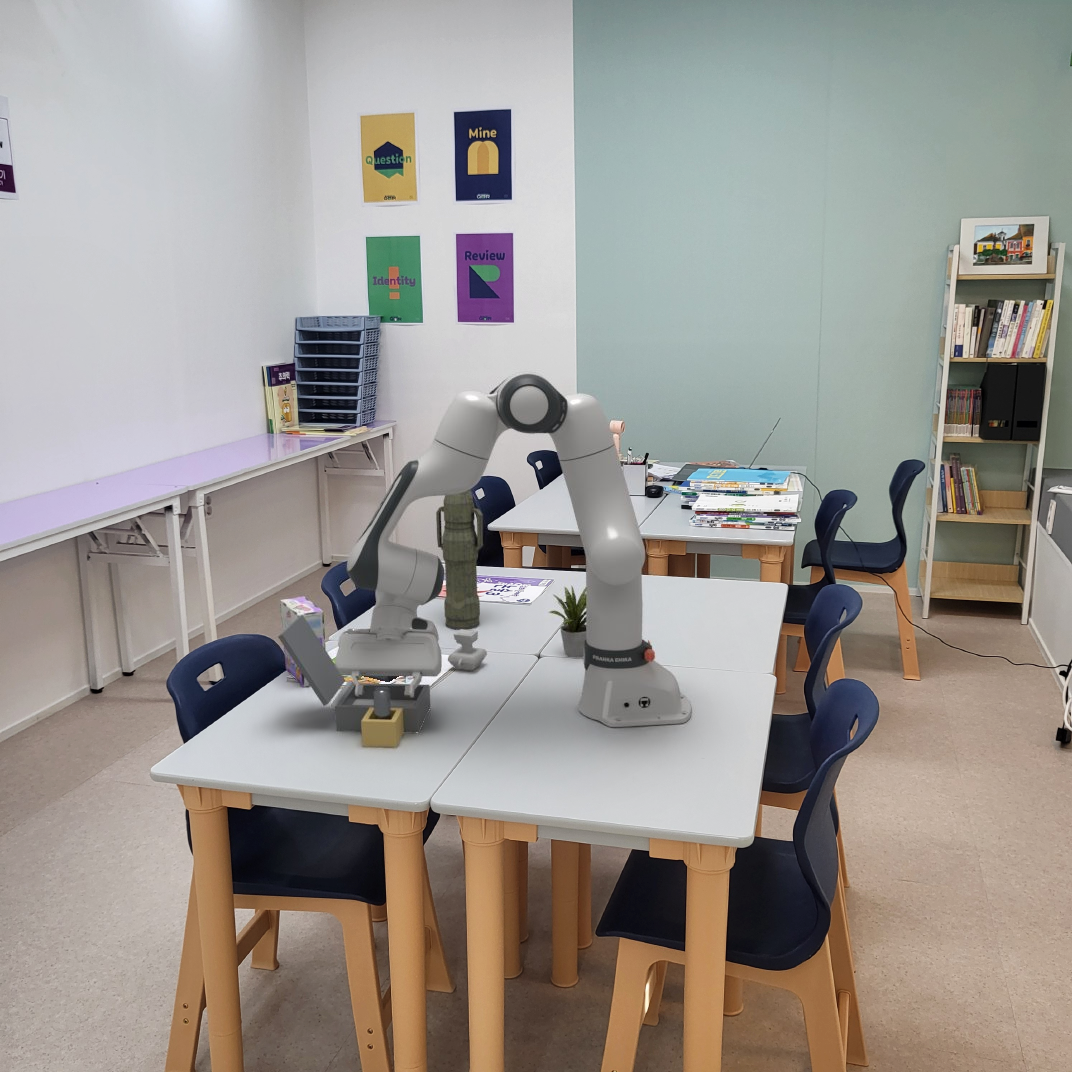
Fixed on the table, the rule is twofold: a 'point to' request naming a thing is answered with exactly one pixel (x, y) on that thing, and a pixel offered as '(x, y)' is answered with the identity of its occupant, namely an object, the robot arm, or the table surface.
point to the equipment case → (355, 707)
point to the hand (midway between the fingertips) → (384, 695)
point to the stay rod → (382, 703)
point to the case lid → (312, 659)
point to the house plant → (573, 623)
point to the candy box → (314, 618)
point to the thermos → (460, 559)
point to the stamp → (467, 651)
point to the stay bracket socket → (382, 729)
